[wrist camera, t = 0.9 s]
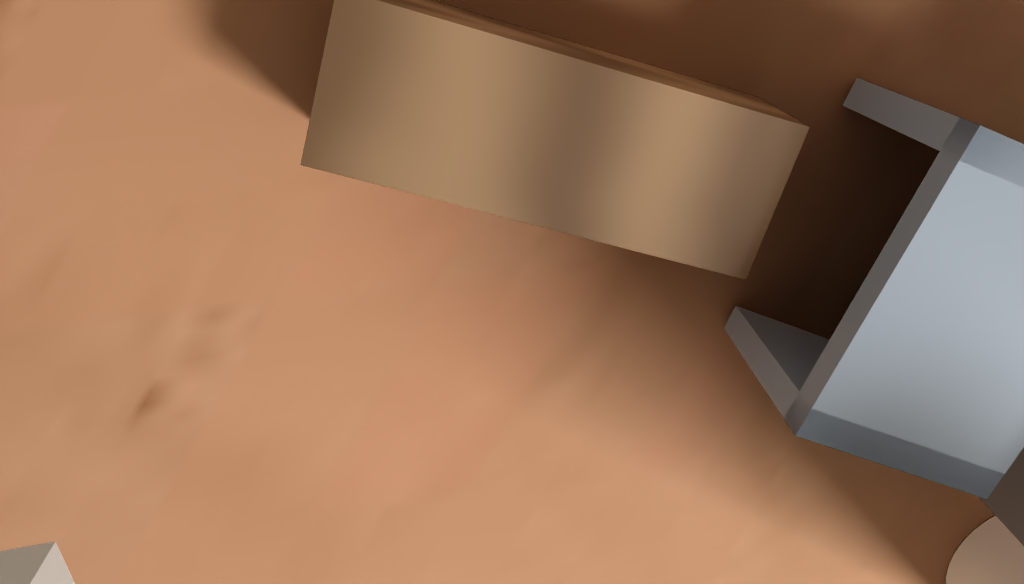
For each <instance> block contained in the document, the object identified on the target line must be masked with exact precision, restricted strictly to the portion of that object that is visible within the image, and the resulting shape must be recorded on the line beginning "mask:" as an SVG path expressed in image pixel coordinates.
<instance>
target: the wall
mask: <svg viewBox="0 0 1024 584" xmlns="http://www.w3.org/2000/svg"><path fill="white" fill-rule="evenodd" d="M978 497H979V496H978ZM979 498H980V499H981V500H982V501H983V502H984V503H985V504H986V506H987V507H988V508H989V509H990V510H991V511H992V512H993V513H994V514H995V515H996V516H997V518H998V519H999V520H1000V521H1001V522H1002V523H1003V524H1004V525H1005V526H1006V527H1007V528H1008V530H1009V531H1010V532H1011V533H1012V534H1013V535H1014V536H1015V537H1016V538H1017V539H1018V540H1019V542H1020V543H1021V544H1022V545H1023V546H1024V448H1023V449H1022V450H1021V452H1020V453H1019V455H1018V456H1017V457H1016V459H1015V460H1014V462H1013V463H1012V465H1011V466H1010V467H1009V469H1008V470H1007V472H1006V473H1005V474H1004V476H1003V477H1002V479H1001V480H1000V481H999V483H998V484H997V486H996V487H995V488H994V490H993V491H992V493H991V494H990V496H989V497H988V498H987V499H985V498H982V497H979Z"/></svg>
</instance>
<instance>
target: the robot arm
mask: <svg viewBox="0 0 1024 584" xmlns="http://www.w3.org/2000/svg"><path fill="white" fill-rule="evenodd" d="M0 584H75V583H74V581H73V578H72V576H71V574H70V572H69V570H68V568H67V565H66V563H65V561H64V559H63V557H62V555H61V553H60V550H59V548H58V546H57V544H56V542H50V543H44V544H38V545H33V546H27V547H22V548H16V549H11V550H5V551H0Z"/></svg>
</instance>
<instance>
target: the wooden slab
mask: <svg viewBox="0 0 1024 584" xmlns="http://www.w3.org/2000/svg"><path fill="white" fill-rule="evenodd" d="M809 128H810V127H809V126H807V125H805V124H803V123H802V122H800V121H798V120H797V119H795V118H793V117H791V116H790V115H788V114H786V113H784V112H783V111H781V110H779V109H778V108H776V107H774V106H772V105H771V104H769V103H767V102H765V101H764V100H762V99H760V98H759V97H756V96H753V95H749V94H746V93H743V92H739V91H736V90H733V89H729V88H726V87H723V86H719V85H716V84H712V83H709V82H706V81H702V80H699V79H696V78H692V77H689V76H685V75H682V74H679V73H675V72H672V71H669V70H665V69H662V68H658V67H655V66H652V65H648V64H645V63H642V62H638V61H635V60H631V59H628V58H625V57H621V56H618V55H615V54H611V53H608V52H604V51H601V50H598V49H594V48H591V47H588V46H584V45H581V44H577V43H574V42H571V41H567V40H564V39H561V38H557V37H554V36H551V35H547V34H544V33H540V32H537V31H534V30H530V29H527V28H524V27H520V26H517V25H513V24H510V23H507V22H503V21H500V20H497V19H493V18H490V17H486V16H483V15H480V14H476V13H473V12H470V11H466V10H463V9H459V8H456V7H453V6H449V5H446V4H443V3H439V2H436V1H432V0H334V3H333V8H332V13H331V18H330V23H329V28H328V33H327V37H326V42H325V47H324V52H323V57H322V62H321V67H320V72H319V77H318V82H317V87H316V91H315V96H314V101H313V106H312V111H311V116H310V121H309V126H308V131H307V136H306V141H305V146H304V150H303V155H302V160H301V165H303V166H307V167H310V168H314V169H318V170H322V171H326V172H330V173H334V174H338V175H341V176H345V177H349V178H353V179H357V180H361V181H365V182H369V183H372V184H376V185H380V186H384V187H388V188H392V189H396V190H400V191H404V192H407V193H411V194H415V195H419V196H423V197H427V198H431V199H435V200H438V201H442V202H446V203H450V204H454V205H458V206H462V207H466V208H470V209H473V210H477V211H481V212H485V213H489V214H493V215H497V216H501V217H504V218H508V219H512V220H516V221H520V222H524V223H528V224H532V225H535V226H539V227H543V228H547V229H551V230H555V231H559V232H563V233H567V234H570V235H574V236H578V237H582V238H586V239H590V240H594V241H598V242H601V243H605V244H609V245H613V246H617V247H621V248H625V249H629V250H632V251H636V252H640V253H644V254H648V255H652V256H656V257H660V258H664V259H667V260H671V261H675V262H679V263H683V264H687V265H691V266H695V267H698V268H702V269H706V270H710V271H714V272H718V273H722V274H726V275H729V276H733V277H737V278H741V279H745V280H746V278H747V275H748V273H749V271H750V268H751V266H752V264H753V261H754V259H755V256H756V254H757V252H758V249H759V247H760V244H761V242H762V240H763V237H764V235H765V233H766V230H767V228H768V225H769V223H770V221H771V218H772V216H773V213H774V211H775V209H776V206H777V204H778V202H779V199H780V197H781V194H782V192H783V190H784V187H785V185H786V182H787V180H788V178H789V175H790V173H791V170H792V168H793V166H794V163H795V161H796V159H797V156H798V154H799V151H800V149H801V147H802V144H803V142H804V139H805V137H806V135H807V132H808V130H809Z"/></svg>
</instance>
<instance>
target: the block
mask: <svg viewBox="0 0 1024 584" xmlns="http://www.w3.org/2000/svg"><path fill="white" fill-rule="evenodd" d="M843 106H845V107H847V108H849V109H851V110H853V111H855V112H858V113H860V114H862V115H864V116H866V117H868V118H870V119H872V120H875V121H877V122H879V123H881V124H883V125H885V126H887V127H889V128H892V129H894V130H896V131H898V132H900V133H902V134H904V135H906V136H909V137H911V138H913V139H915V140H917V141H919V142H921V143H923V144H926V145H928V146H930V147H932V148H934V149H936V150H938V151H940V152H939V154H938V155H937V157H936V159H935V160H934V162H933V164H932V166H931V167H930V169H929V171H928V172H927V174H926V176H925V178H924V179H923V181H922V183H921V184H920V186H919V188H918V189H917V191H916V193H915V195H914V196H913V198H912V200H911V201H910V203H909V205H908V207H907V208H906V210H905V212H904V213H903V215H902V217H901V219H900V220H899V222H898V224H897V225H896V227H895V229H894V231H893V232H892V234H891V236H890V237H889V239H888V241H887V243H886V244H885V246H884V248H883V249H882V251H881V253H880V255H879V256H878V258H877V260H876V261H875V263H874V265H873V266H872V268H871V270H870V272H869V273H868V275H867V277H866V278H865V280H864V282H863V284H862V285H861V287H860V289H859V290H858V292H857V294H856V296H855V297H854V299H853V301H852V302H851V304H850V306H849V308H848V309H847V311H846V313H845V314H844V316H843V318H842V320H841V321H840V323H839V325H838V326H837V328H836V330H835V332H834V333H833V335H832V337H831V338H830V339H827V338H824V337H821V336H819V335H816V334H813V333H810V332H807V331H805V330H802V329H799V328H796V327H794V326H791V325H788V324H785V323H782V322H780V321H777V320H774V319H771V318H768V317H766V316H763V315H760V314H757V313H755V312H752V311H749V310H746V309H743V308H741V307H738V306H735V308H734V310H733V312H732V314H731V315H730V317H729V319H728V321H727V323H726V325H725V327H724V330H725V331H726V333H727V334H728V336H729V337H730V339H731V340H732V342H733V343H734V345H735V346H736V348H737V349H738V351H739V352H740V354H741V355H742V357H743V358H744V360H745V361H746V363H747V364H748V366H749V367H750V369H751V370H752V372H753V373H754V375H755V376H756V378H757V379H758V381H759V382H760V384H761V385H762V387H763V388H764V390H765V391H766V393H767V394H768V396H769V397H770V399H771V400H772V402H773V403H774V405H775V406H776V408H777V409H778V411H779V412H780V414H781V415H782V417H783V418H784V420H785V421H786V423H787V424H788V426H789V427H790V429H791V430H792V431H793V433H794V434H795V436H797V437H800V438H803V439H806V440H809V441H812V442H815V443H819V444H822V445H825V446H828V447H831V448H834V449H837V450H840V451H843V452H846V453H849V454H852V455H855V456H858V457H861V458H864V459H867V460H870V461H873V462H876V463H879V464H882V465H885V466H888V467H891V468H894V469H897V470H900V471H903V472H906V473H909V474H912V475H915V476H918V477H921V478H924V479H927V480H930V481H933V482H936V483H939V484H942V485H946V486H949V487H952V488H955V489H958V490H961V491H964V492H967V493H970V494H973V495H976V496H979V497H982V498H985V499H987V498H988V497H989V496H990V494H991V493H992V491H993V490H994V488H995V487H996V486H997V484H998V483H999V481H1000V480H1001V479H1002V477H1003V476H1004V474H1005V473H1006V472H1007V470H1008V469H1009V467H1010V466H1011V465H1012V463H1013V462H1014V460H1015V459H1016V457H1017V456H1018V455H1019V453H1020V452H1021V450H1022V449H1023V448H1024V144H1022V143H1020V142H1018V141H1015V140H1013V139H1011V138H1009V137H1006V136H1004V135H1002V134H999V133H997V132H995V131H992V130H990V129H988V128H985V127H983V126H981V125H978V124H976V123H973V122H971V121H968V120H965V119H963V118H960V117H958V116H955V115H952V114H950V113H947V112H945V111H942V110H940V109H937V108H934V107H932V106H929V105H927V104H924V103H921V102H919V101H916V100H914V99H911V98H908V97H906V96H903V95H901V94H898V93H895V92H893V91H890V90H888V89H885V88H883V87H880V86H877V85H875V84H872V83H870V82H867V81H864V80H862V79H859V78H857V79H856V81H855V83H854V85H853V86H852V88H851V90H850V92H849V94H848V96H847V98H846V100H845V101H844V103H843Z"/></svg>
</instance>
